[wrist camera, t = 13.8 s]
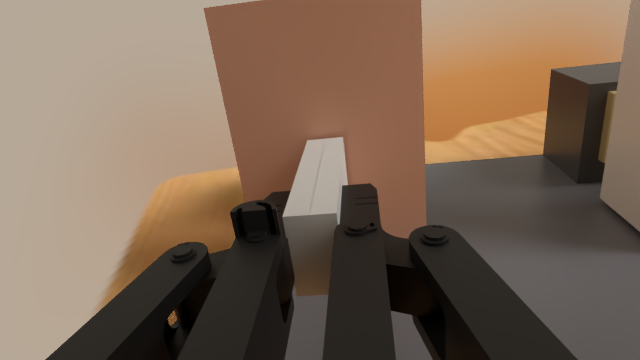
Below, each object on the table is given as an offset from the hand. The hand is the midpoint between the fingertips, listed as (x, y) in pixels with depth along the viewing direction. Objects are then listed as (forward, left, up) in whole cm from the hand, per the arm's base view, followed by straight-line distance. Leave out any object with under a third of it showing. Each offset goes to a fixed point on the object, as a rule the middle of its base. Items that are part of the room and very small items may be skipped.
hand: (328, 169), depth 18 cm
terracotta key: (-2, -1, -5) cm, 6 cm away
